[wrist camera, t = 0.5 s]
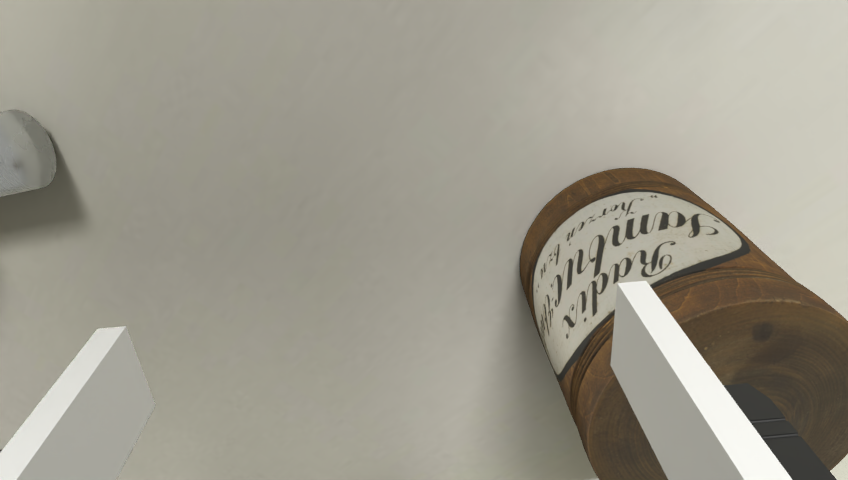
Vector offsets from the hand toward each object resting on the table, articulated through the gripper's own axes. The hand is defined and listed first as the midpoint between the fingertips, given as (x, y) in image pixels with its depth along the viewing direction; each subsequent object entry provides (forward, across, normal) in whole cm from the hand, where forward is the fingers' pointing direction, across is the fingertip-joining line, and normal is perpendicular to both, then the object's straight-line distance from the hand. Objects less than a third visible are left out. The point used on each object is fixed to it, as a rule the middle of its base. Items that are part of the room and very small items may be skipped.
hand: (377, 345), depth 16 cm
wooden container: (+27, +16, -13) cm, 34 cm away
